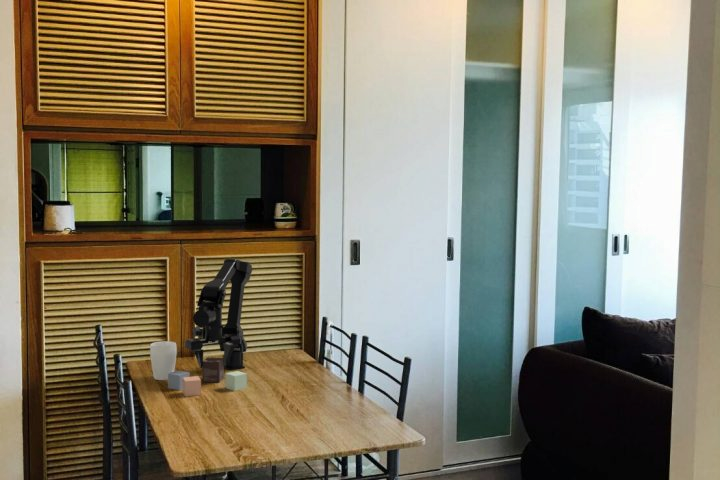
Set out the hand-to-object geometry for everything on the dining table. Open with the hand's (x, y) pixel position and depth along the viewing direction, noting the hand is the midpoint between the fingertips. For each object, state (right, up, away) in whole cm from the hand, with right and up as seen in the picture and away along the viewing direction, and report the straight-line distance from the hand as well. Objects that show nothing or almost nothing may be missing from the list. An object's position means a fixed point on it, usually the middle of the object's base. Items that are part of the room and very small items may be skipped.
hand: (213, 366), depth 276 cm
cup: (-18, -5, +2) cm, 18 cm away
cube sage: (+9, -6, -9) cm, 14 cm away
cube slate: (-10, -6, -9) cm, 15 cm away
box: (0, -5, 0) cm, 5 cm away
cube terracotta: (-4, -6, -16) cm, 18 cm away
